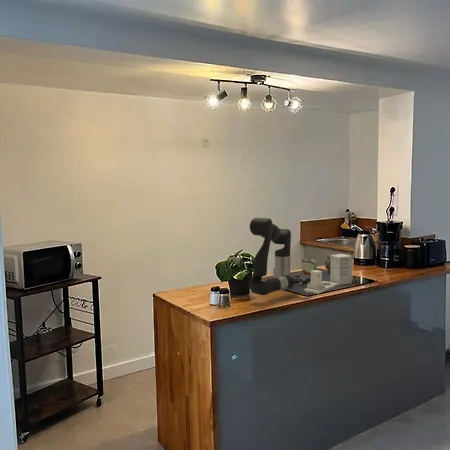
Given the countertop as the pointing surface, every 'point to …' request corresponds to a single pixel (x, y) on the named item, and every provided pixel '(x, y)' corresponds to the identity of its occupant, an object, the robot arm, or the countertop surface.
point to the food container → (309, 266)
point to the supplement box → (341, 269)
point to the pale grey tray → (323, 288)
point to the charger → (316, 278)
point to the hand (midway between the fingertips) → (304, 278)
